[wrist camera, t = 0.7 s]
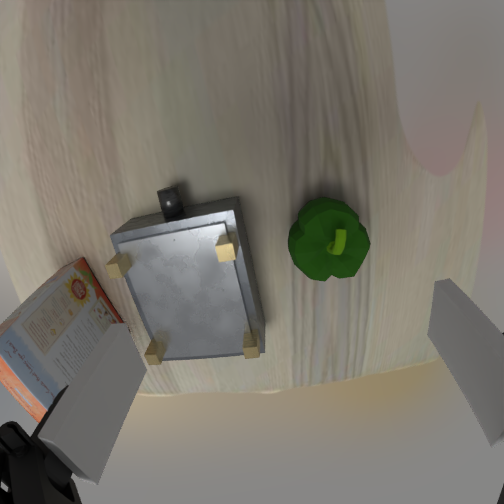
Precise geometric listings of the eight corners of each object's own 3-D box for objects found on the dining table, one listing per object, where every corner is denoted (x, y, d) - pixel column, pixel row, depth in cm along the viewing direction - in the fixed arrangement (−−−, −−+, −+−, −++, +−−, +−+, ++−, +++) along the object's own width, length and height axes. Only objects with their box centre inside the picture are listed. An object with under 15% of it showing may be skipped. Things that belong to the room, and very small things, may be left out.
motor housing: (124, 196, 35) (87, 218, 27) (233, 171, 34) (221, 186, 25) (171, 334, 43) (154, 377, 35) (265, 324, 42) (264, 370, 33)
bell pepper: (333, 266, 38) (352, 310, 29) (275, 240, 37) (277, 280, 28) (366, 208, 35) (397, 237, 26) (306, 177, 34) (321, 197, 25)
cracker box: (59, 268, 40) (-27, 349, 21) (84, 255, 39) (-9, 343, 20) (105, 340, 45) (48, 436, 26) (132, 333, 44) (75, 439, 25)
